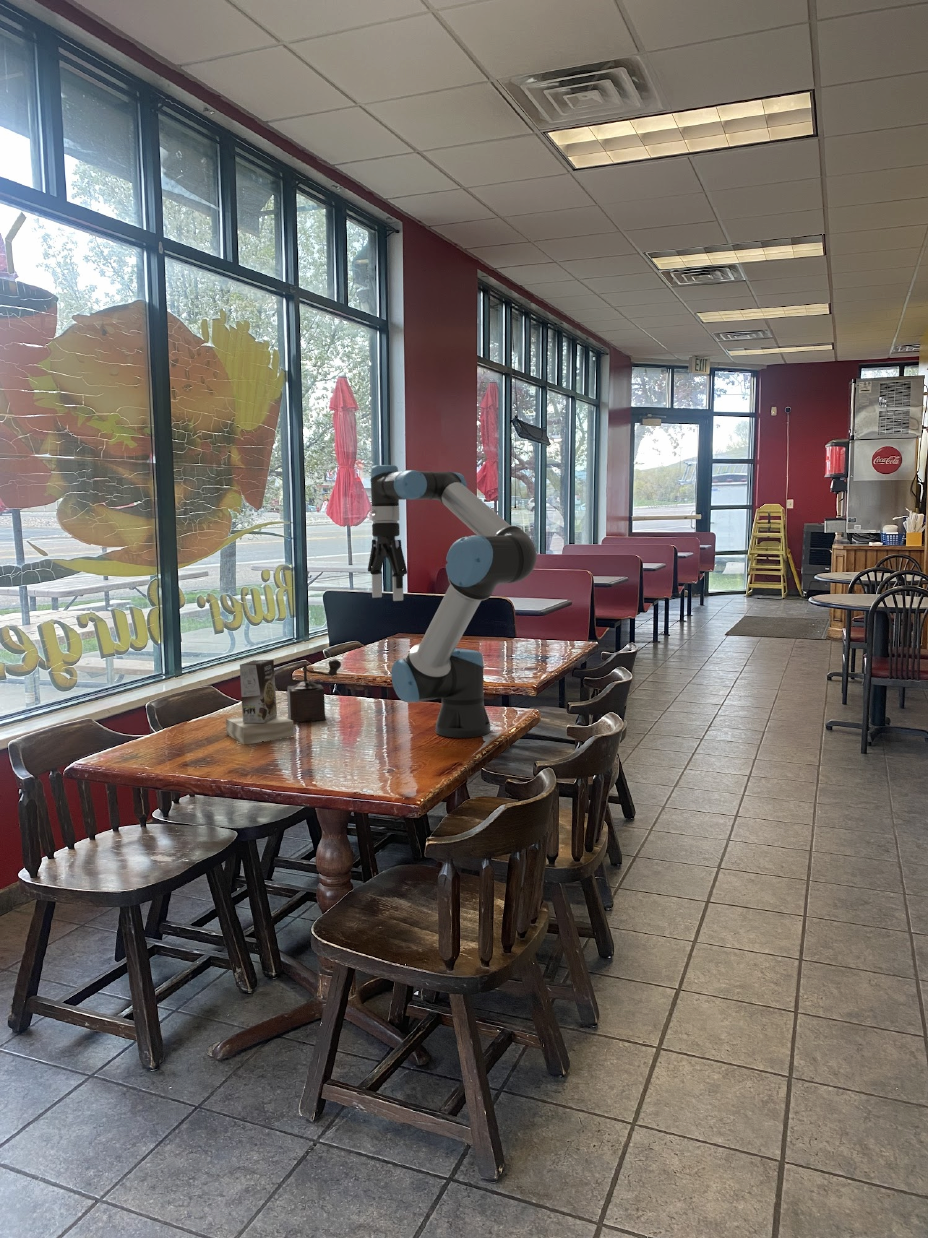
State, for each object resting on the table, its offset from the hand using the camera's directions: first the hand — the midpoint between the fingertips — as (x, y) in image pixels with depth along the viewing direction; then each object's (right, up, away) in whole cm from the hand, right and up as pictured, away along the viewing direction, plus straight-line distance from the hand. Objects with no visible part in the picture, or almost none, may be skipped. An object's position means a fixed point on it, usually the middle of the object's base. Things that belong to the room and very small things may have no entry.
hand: (387, 599), depth 252 cm
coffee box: (-35, -33, -3) cm, 48 cm away
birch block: (-35, -38, -2) cm, 52 cm away
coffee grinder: (-23, -35, +19) cm, 46 cm away
